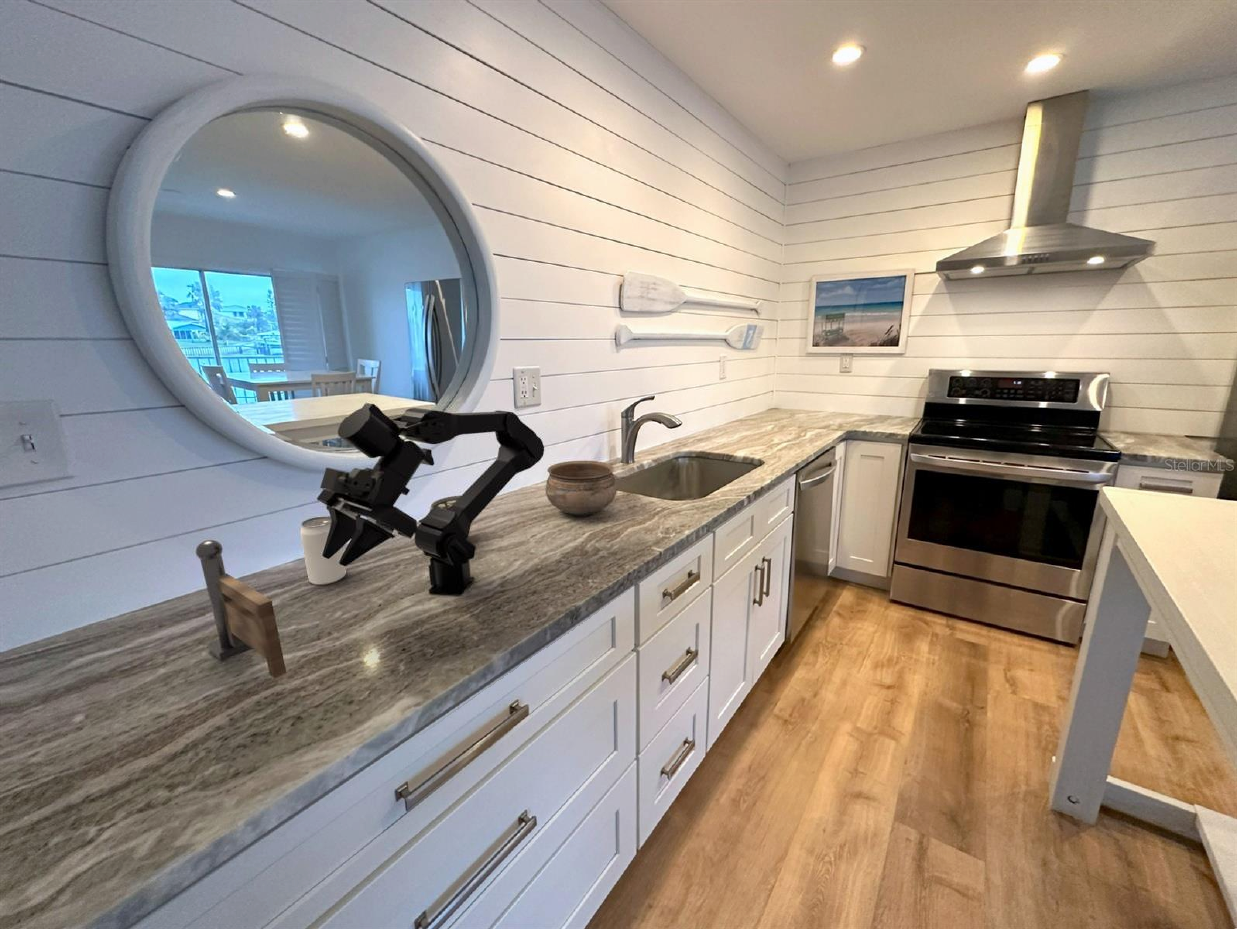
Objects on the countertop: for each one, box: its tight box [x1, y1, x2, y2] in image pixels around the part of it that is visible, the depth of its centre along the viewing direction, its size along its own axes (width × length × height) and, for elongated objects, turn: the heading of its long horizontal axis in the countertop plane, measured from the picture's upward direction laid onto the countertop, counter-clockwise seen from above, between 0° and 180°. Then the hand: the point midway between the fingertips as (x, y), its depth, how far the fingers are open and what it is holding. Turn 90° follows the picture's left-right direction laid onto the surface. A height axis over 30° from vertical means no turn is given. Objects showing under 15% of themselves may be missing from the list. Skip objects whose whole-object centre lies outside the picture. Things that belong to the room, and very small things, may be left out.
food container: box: [428, 494, 462, 513], centre depth 111 cm, size 12×6×10 cm, turn 5°
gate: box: [215, 572, 287, 679], centre depth 69 cm, size 14×1×11 cm, turn 57°
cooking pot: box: [545, 460, 618, 518], centre depth 132 cm, size 25×19×12 cm
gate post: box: [195, 539, 252, 662], centre depth 73 cm, size 4×4×18 cm
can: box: [300, 515, 347, 586], centre depth 96 cm, size 6×6×12 cm
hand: (333, 561), depth 74 cm, fingers open, 4 cm apart
